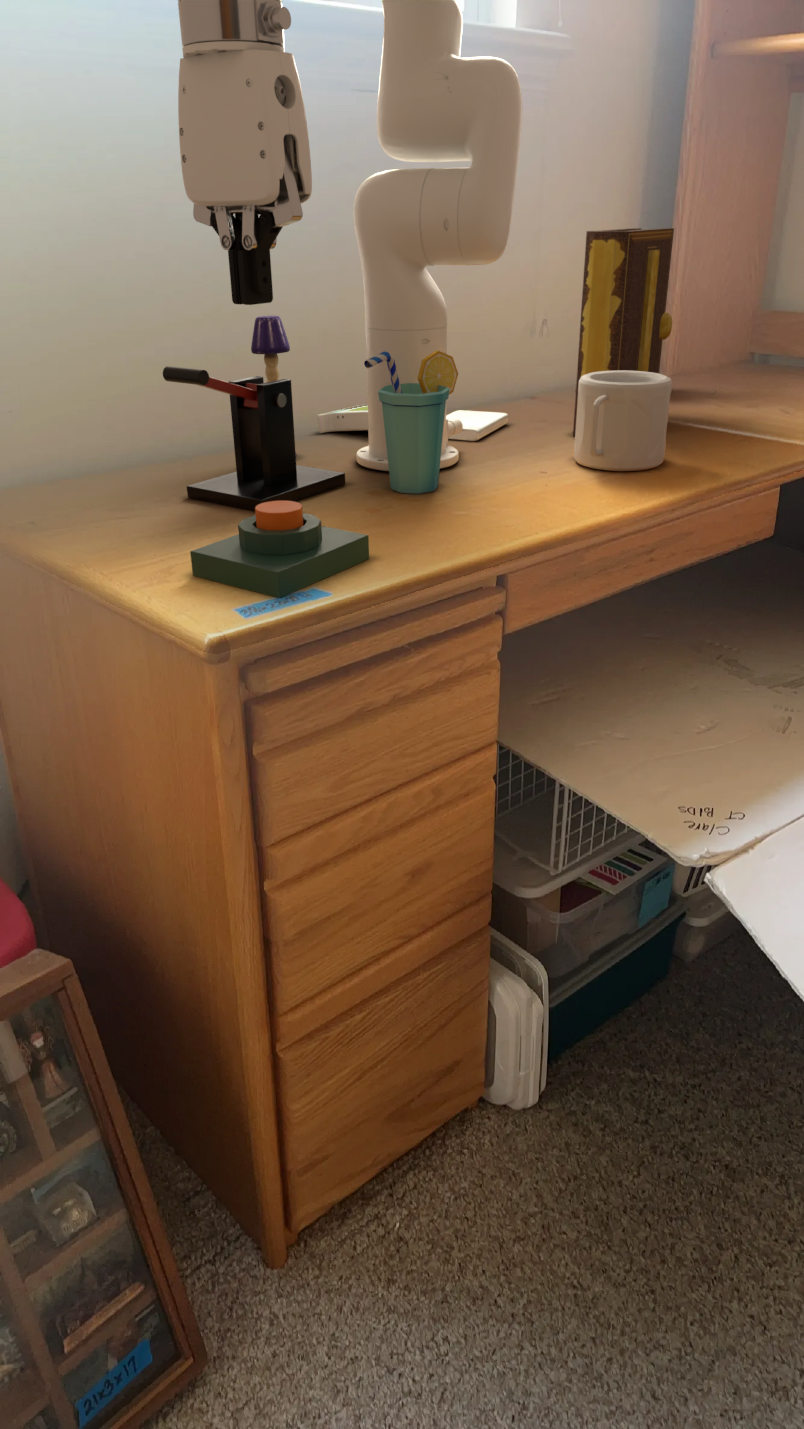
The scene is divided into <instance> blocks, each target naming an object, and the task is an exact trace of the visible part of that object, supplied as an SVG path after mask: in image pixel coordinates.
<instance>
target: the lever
mask: <svg viewBox="0 0 804 1429" xmlns="http://www.w3.org/2000/svg"><path fill="white" fill-rule="evenodd" d="M162 378H163V380H165V381H166V382H170V383H179V384H187V385H195V386H199V387H201V388H202V387H203V388H206V389H209V390H213V391H216V392H220V393H223V394H225V395H229V396H230V395H233V396H237V397H240V398H244V405H243V406H245V407H248V408H252V409H256V410H258V399H257V386H256V385H257V384H251V383H247V384H246V388H245V387H242V386H238V385H235V384H232V383H229V381H225V380H222V379H219V378H216V377H213V376H210V375H209V372H208V371H207V370H206V369H202V368H191V367H181V366H171V365H166V366H165V367H164V368H163V370H162Z"/></svg>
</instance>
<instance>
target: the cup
mask: <svg viewBox="0 0 804 1429" xmlns="http://www.w3.org/2000/svg"><path fill="white" fill-rule="evenodd" d="M385 360H386V362H387V365H388V369H389V374H390V378H391V382H392V385H387V386H385V387H383V388H382V389H380V390H379V391H378V395H379V401H380V402H382V409H383V418H384V428H385V437H386V447H387V456H388V466H389V471H388V472H389V473H388V475H389V484H390V489H391V490H393V491H395V492H398V493H400V494H419V495H420V494H424V493H430V492H434V491H436V490H437V488H438V487H439V479H440V459H441V448H442V437H443V426H444V415H445V404H446V405H447V400H448V399H449V396H450V395H452V394H453V393H454V390H455V387H456V384H457V380H458V376H459V370H458V368H457V366H456V363H455V360H454V357H453V356H452V355H449V354H445V353H443V352H440V351H434V352H433V353H431V354H430V355H428V356H427V357H426V358H424V359H423V360H422V363H421V366H420V370H419V374H418V378H417V379H418V382H419V383H405V384H400V382H399V377H398V373H397V369H396V365H395V360H394V358H393V357H392V355H391V354H390V353H388V352H387V351H384V352H382V353H380V354H378V355H376V356H374V357H372V358H370V359H368V360H366V359H365V360H364V363H363V364H364V366H365V368H366V369H367V368H370V367H372V366H374V365H376V364H378V363H381V362H383V361H385Z"/></svg>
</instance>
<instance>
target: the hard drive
mask: <svg viewBox="0 0 804 1429" xmlns="http://www.w3.org/2000/svg"><path fill="white" fill-rule="evenodd" d="M455 418H456V419H459V420H460V421H461V422H462V424H463V429H462V431H461V432H460V433H458V434H455V435H452V436H450V437H449V438H448V440H458V441H459V440H460V441H469V442H475V441H478V440H480V439H482V438H484V437H485V436H487V435H489V434H490V433H493V432H494V431H496V430H498V429H499V428H501V427H504V426H505V425H507V424H508V423H509V414H508V413H506V412H500V411H499V412H498V411H497V412H496V411H480V410H479V411H478V410H463V409H457V410H454V411H453V412H451V413H448V414H446V419H448V421H449V420H452V419H455Z"/></svg>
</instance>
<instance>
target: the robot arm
mask: <svg viewBox="0 0 804 1429" xmlns="http://www.w3.org/2000/svg"><path fill="white" fill-rule="evenodd" d="M380 1H381V5H382V13H383V35H382V36H383V38H382V50H381V58H380V59H381V60H380V71H379V79H378V80H379V81H378V94H377V104H376V134H377V140H378V143H379V145H380V148H381V149H382V151H383V152H384V153H385V154H386V155H387V156H388V157H390V158H392V159H393V160H397V161H401V162H411V163H443V162H444V163H445V162H447V163H448V162H471V164H470V166H469V167H440V168H439V167H438V168H436V167H417V168H416V167H415V168H412V167H411V168H395V169H387V170H383V171H379V172H376V173H374V174H372V175H370V176H369V177H368V178H366V179H365V180H364V181H363V182H361V184H360V185H359V187H358V189H357V191H356V193H355V196H354V199H353V208H352V214H353V225H354V232H355V237H356V243H357V247H358V253H359V259H360V265H361V273H362V282H363V295H364V322H365V325H364V326H365V358H366V359H365V361H366V360H368V359H370V358H372V357H374V356H376V355H378V354H380V353H382V352H384V351H387V352H388V353H390V354H391V355H392V357H393V358H394V360H395V365H396V369H397V373H398V377H399V382H400V384H405V383H419V382H418V379H417V378H418V374H419V370H420V366H421V363H422V360H423V359H424V358H426V357H427V356H428V355H430V354H431V353H433V352H434V351H440V352H443V353H445V354H447V352H448V350H447V348H448V347H447V346H448V338H447V337H448V310H447V304H446V300H445V298H444V295H443V294H442V291H441V290H440V288H439V287H438V285H437V283H436V281H435V280H434V279H433V277H432V276H431V274H430V272H429V271H428V269H427V267H432V266H433V267H434V266H482V265H483V266H484V265H489V264H492V263H495V262H496V261H498V260H499V259H501V257H502V256H503V254H505V251H506V249H507V246H508V244H509V243H508V242H509V239H510V235H511V229H512V221H513V214H514V205H515V194H516V185H517V178H518V177H517V175H518V166H519V160H520V147H521V141H522V140H521V139H522V130H523V129H522V128H523V95H522V94H523V93H522V88H521V83H520V79H519V76H518V73H517V72H516V70H515V68H514V67H513V66H512V65H511V63H509V62H508V61H506V60H505V59H502V58H500V57H495V56H471V57H469V56H468V57H461V51H462V50H461V49H462V38H463V37H462V36H463V28H464V19H463V18H464V17H463V12H462V8H461V7H460V5H459V3H458V1H457V0H380ZM177 7H178V9H177V10H178V18H179V29H180V39H181V49H182V58H180V59H179V70H178V89H177V90H178V92H177V93H178V94H177V95H178V96H177V97H178V98H177V99H178V100H177V101H178V103H177V105H178V108H177V110H178V111H177V113H178V137H179V138H178V140H179V141H178V142H179V154H180V166H181V174H182V180H183V187H184V191H185V194H186V197H187V198H188V200H189V201H191V203H193V210H192V212H193V213H192V215H193V219H194V220H195V221H196V222H198V223H200V224H203V225H205V226H208V227H212V229H213V230H214V231H215V233H216V234H217V235H218V237H219V241H220V246H221V248H222V249H223V250H225V251H227V255H228V256H227V257H228V266H229V278H230V280H229V281H230V291H231V301H232V304H234V305H244V306H253V305H254V306H255V305H262V304H271V303H272V302H273V300H274V293H273V292H274V291H273V276H272V263H271V262H272V261H271V260H272V259H271V250H273V249H275V248H276V246H277V241H278V240H277V239H278V236H279V234H280V233H281V231H282V229H283V227H286V226H289V225H292V224H294V223H298V222H300V221H301V220H302V219H303V215H304V212H303V207H302V204H303V203H305V202H307V201H309V199H310V198H311V196H312V191H313V174H312V160H311V149H310V140H309V130H308V122H307V115H306V107H305V102H304V96H303V90H302V85H301V80H300V77H299V71H298V68H297V64H296V60H295V57H294V54H293V53H290V52H287V51H285V33H284V31H286V30H288V29H290V27H291V25H292V15H291V13H290V10H289V9H288V8H287V7H286V6H283V0H177ZM447 355H448V354H447ZM387 385H392V382H391V378H390V374H389V369H388V365H387V362H386V360H385V361H383V362H381V363H378V364H376V365H374V366H372V367H370V368H366V395H367V399H366V400H367V404H368V430H367V432H368V434H367V435H368V445H367V446H366V445H365V446H364V447H361V448H359V449H358V450H357V452H356V462H357V463H358V465H360V466H362V467H365V468H367V469H371V470H375V471H376V470H377V471H382V472H389V466H388V456H387V447H386V437H385V428H384V418H383V409H382V402H380V401H379V395H378V391H379V390H380V389H382V388H383V387H385V386H387ZM446 415H447V403H446V404H445V415H444V426H443V437H442V448H441V459H440V469H445V468H448V467H451V466H453V465H455V464H457V462H459V460H460V459H459V449H457V448H456V447H454V446H452V445H449V439H448V438H449V437H450V436H452V435H455V434H458V433H460V432H461V431H462V429H463V424H462V422H461V421H460V420H459V419H456V418H455V419H452V420H449V421H448V419H446ZM440 469H439V470H440Z"/></svg>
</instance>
